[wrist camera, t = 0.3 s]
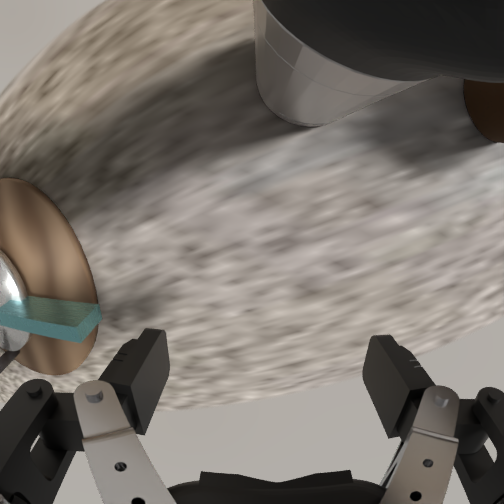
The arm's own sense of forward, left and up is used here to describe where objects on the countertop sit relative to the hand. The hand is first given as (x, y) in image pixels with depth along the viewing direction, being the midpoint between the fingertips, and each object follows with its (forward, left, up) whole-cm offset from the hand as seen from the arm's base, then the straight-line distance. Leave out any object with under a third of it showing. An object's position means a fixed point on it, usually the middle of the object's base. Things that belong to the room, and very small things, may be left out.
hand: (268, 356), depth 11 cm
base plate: (+11, -31, -18) cm, 38 cm away
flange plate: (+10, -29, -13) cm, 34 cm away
